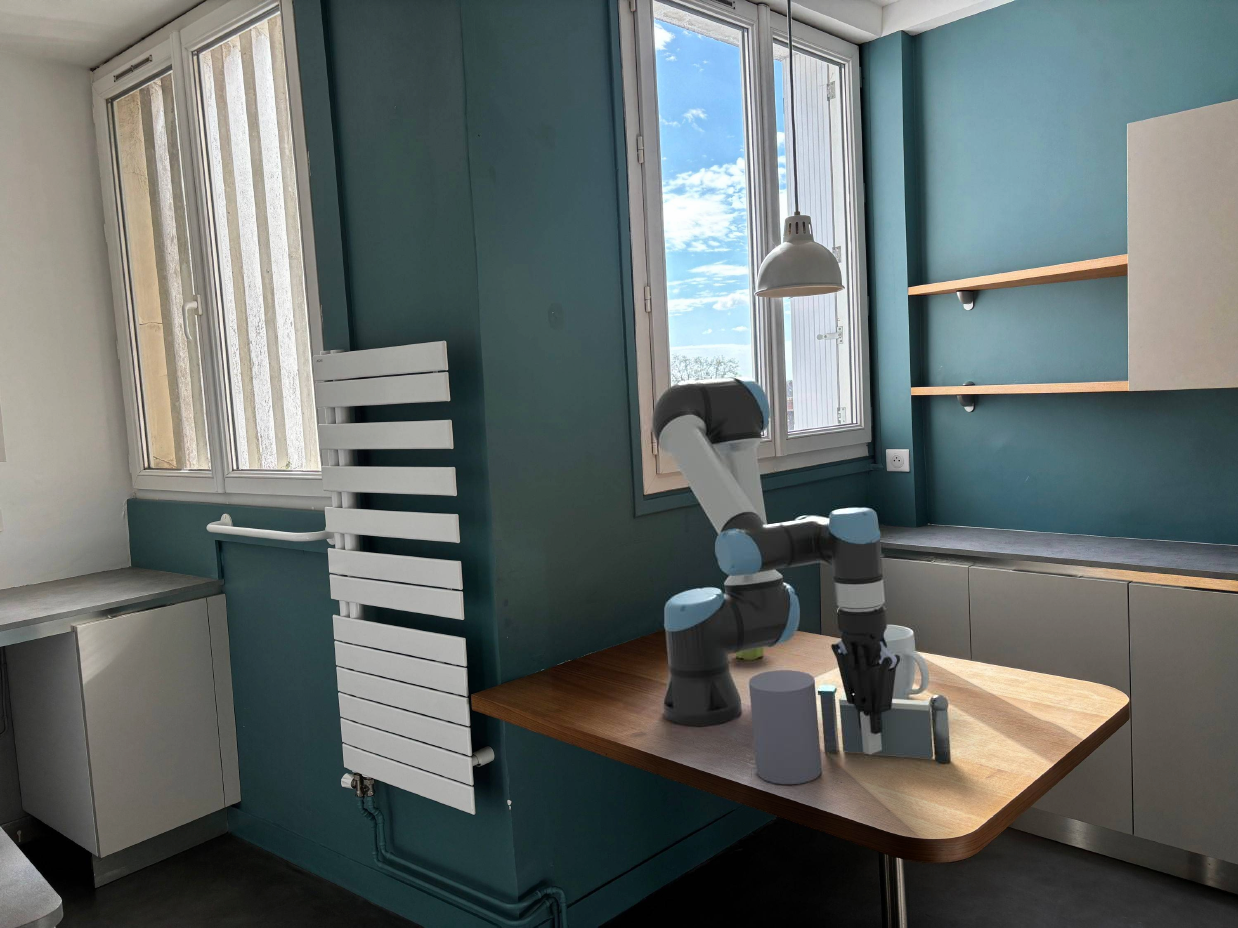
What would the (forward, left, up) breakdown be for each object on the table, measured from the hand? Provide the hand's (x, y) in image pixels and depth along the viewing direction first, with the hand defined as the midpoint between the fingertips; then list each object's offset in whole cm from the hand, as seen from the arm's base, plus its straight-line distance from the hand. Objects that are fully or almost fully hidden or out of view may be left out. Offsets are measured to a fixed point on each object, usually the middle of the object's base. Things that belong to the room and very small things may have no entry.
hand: (872, 750), depth 139 cm
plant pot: (-36, +52, -2) cm, 64 cm away
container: (-12, -6, -2) cm, 14 cm away
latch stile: (-7, +3, -2) cm, 8 cm away
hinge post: (+10, +3, -2) cm, 11 cm away
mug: (-1, +29, -2) cm, 30 cm away
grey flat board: (+2, +3, -2) cm, 4 cm away
